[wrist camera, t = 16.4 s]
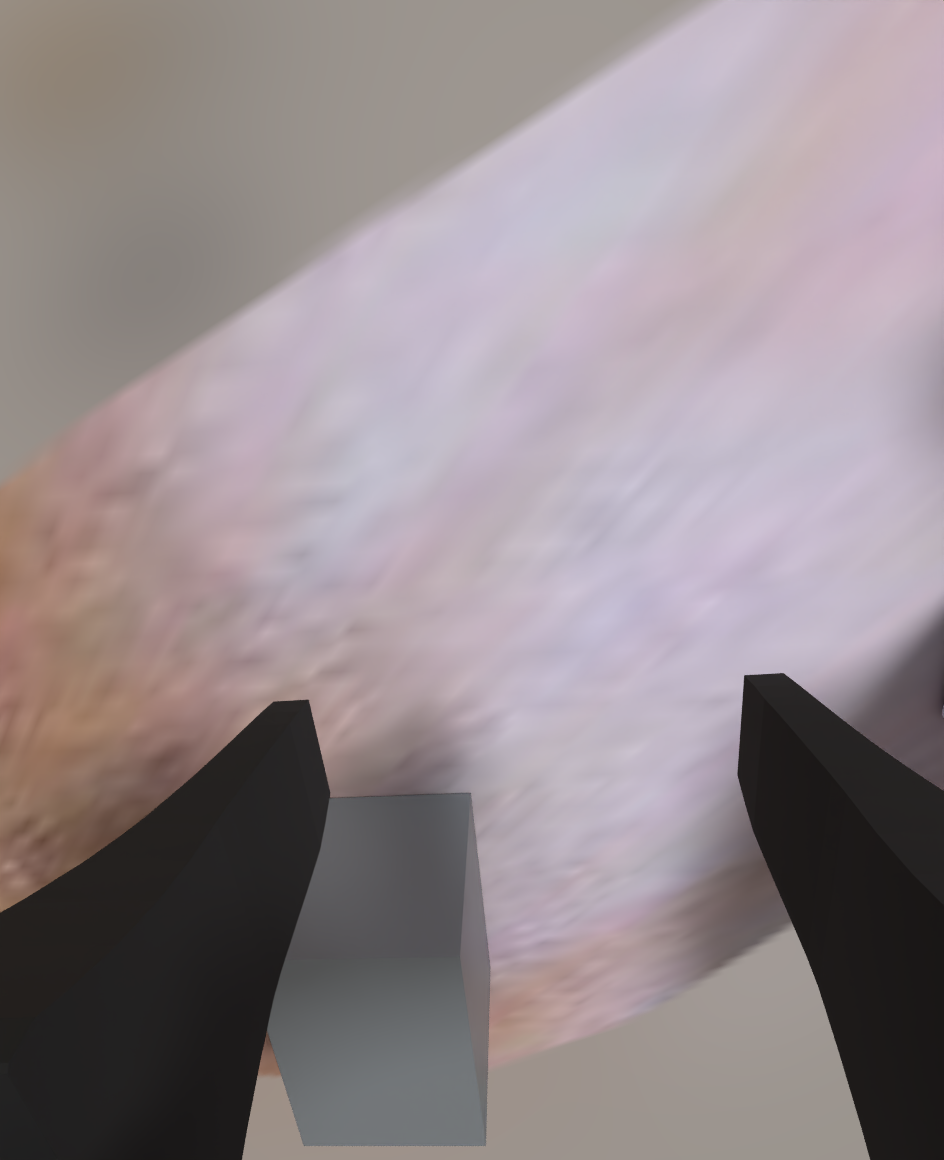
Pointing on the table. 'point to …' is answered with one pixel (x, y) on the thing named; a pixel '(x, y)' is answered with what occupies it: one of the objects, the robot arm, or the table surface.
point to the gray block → (388, 980)
